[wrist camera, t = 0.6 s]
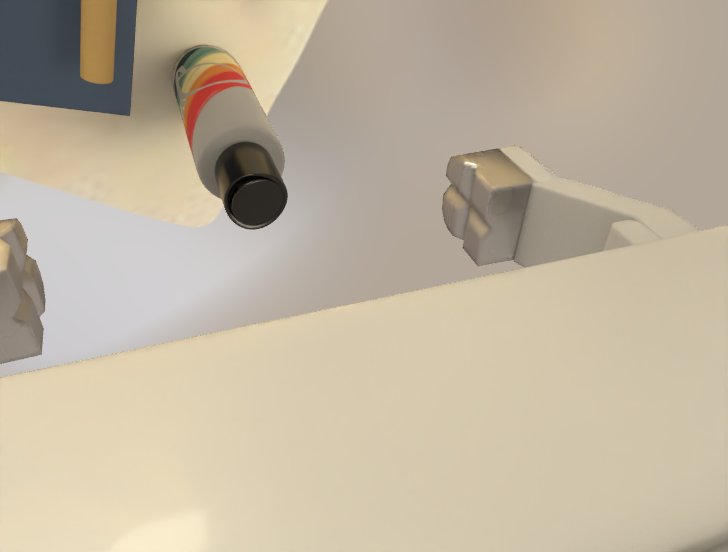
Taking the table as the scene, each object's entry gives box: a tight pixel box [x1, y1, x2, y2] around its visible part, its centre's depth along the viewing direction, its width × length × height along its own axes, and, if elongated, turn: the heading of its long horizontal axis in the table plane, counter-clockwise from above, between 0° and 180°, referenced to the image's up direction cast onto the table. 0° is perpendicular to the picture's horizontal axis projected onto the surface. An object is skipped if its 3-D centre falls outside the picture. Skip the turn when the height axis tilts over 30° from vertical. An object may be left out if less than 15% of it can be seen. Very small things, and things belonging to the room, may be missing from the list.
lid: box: [0, 0, 137, 116], centre depth 34 cm, size 13×13×5 cm
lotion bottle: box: [173, 45, 288, 229], centre depth 43 cm, size 6×6×20 cm
